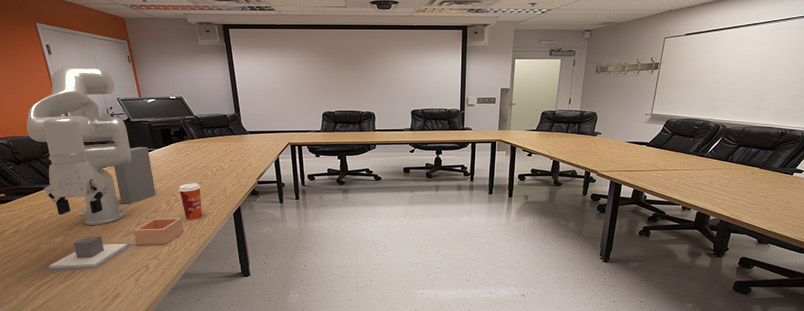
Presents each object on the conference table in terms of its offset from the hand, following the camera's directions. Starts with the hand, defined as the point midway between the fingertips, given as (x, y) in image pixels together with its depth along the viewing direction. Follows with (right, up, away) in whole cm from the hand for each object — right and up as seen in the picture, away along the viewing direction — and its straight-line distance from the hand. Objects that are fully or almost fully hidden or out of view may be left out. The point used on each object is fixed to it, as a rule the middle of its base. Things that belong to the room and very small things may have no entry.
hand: (81, 212), depth 101 cm
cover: (0, -15, +3) cm, 15 cm away
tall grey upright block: (-31, -4, +60) cm, 67 cm away
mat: (0, -15, +4) cm, 16 cm away
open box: (+13, -13, +16) cm, 24 cm away
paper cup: (+12, -9, +37) cm, 40 cm away
